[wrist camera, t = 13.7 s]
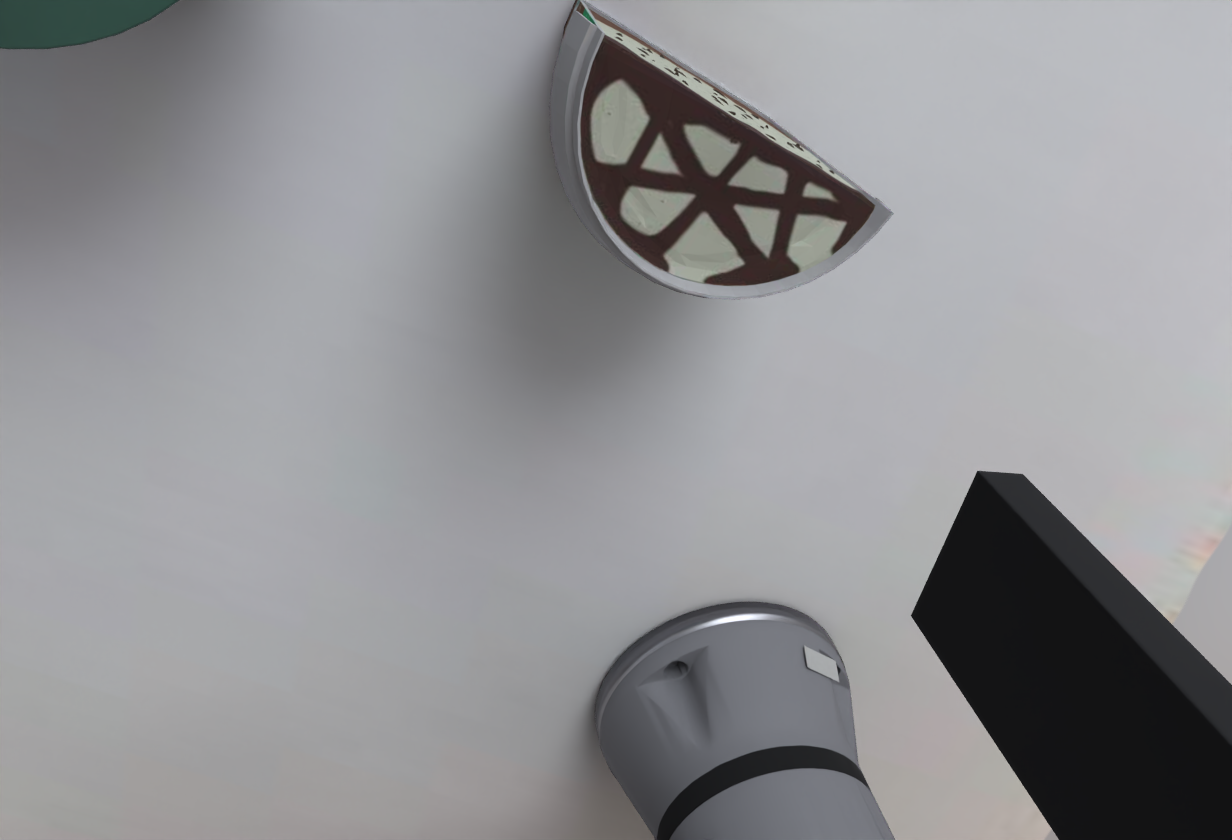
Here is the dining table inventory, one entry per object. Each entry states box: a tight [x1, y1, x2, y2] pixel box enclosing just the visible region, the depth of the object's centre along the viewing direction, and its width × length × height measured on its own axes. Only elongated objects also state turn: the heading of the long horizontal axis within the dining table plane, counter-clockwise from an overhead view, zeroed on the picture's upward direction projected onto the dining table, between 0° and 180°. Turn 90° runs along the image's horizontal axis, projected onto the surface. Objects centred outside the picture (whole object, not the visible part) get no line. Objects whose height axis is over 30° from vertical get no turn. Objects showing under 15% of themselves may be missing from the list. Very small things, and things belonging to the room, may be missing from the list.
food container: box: [549, 0, 894, 299], centre depth 33 cm, size 12×6×10 cm, turn 59°
